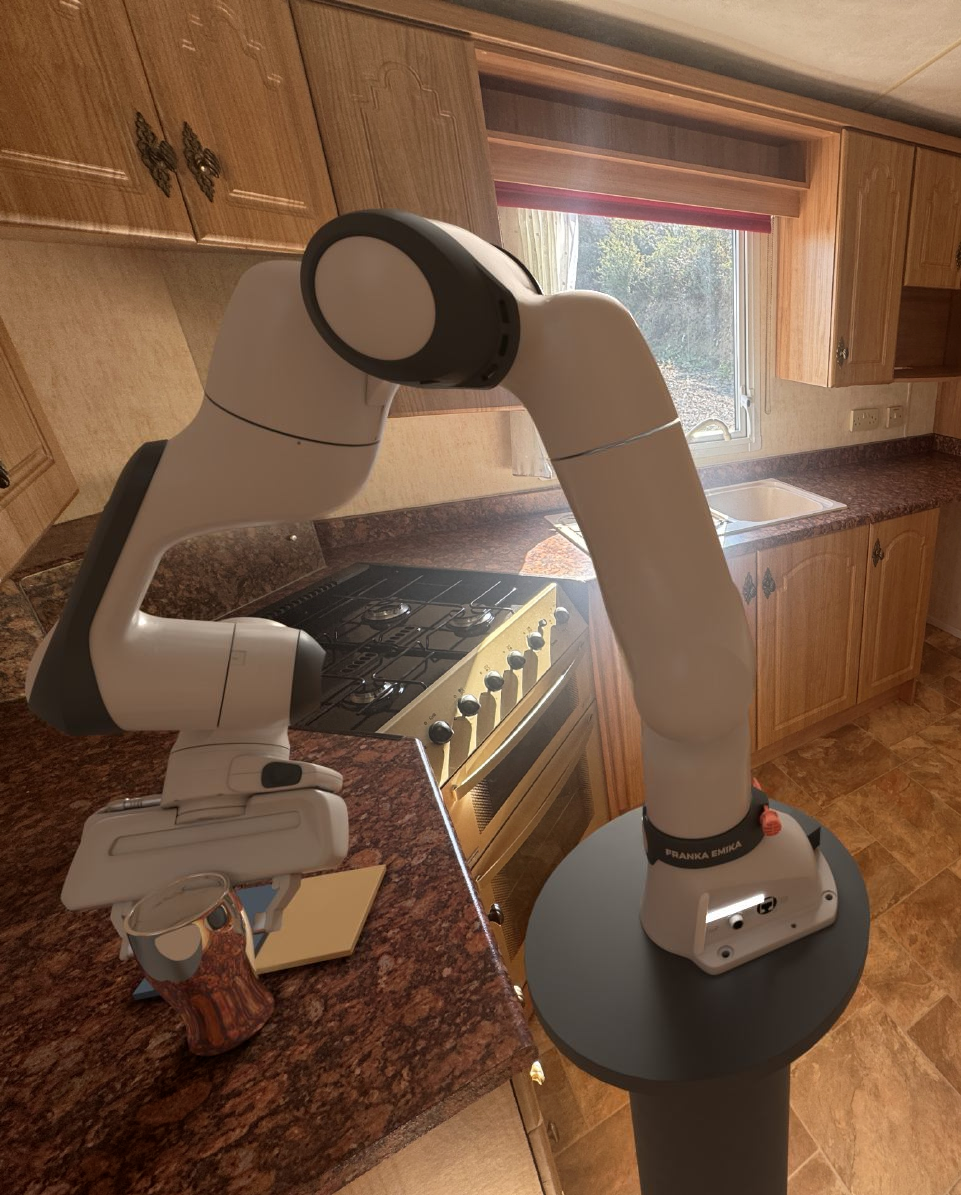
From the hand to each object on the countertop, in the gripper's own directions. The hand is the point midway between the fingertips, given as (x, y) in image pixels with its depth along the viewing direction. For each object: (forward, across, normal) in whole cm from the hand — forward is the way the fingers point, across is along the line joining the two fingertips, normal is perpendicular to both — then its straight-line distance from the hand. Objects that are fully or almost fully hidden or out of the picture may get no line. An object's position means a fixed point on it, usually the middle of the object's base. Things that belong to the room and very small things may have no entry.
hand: (203, 945), depth 55 cm
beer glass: (+7, 0, +6) cm, 9 cm away
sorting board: (-1, -1, +14) cm, 14 cm away
